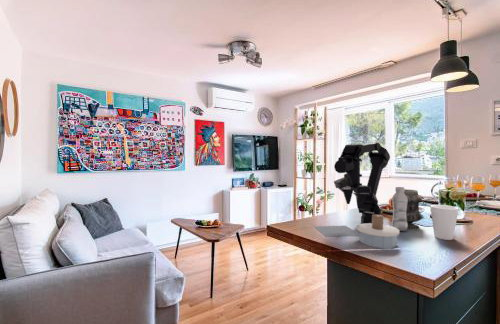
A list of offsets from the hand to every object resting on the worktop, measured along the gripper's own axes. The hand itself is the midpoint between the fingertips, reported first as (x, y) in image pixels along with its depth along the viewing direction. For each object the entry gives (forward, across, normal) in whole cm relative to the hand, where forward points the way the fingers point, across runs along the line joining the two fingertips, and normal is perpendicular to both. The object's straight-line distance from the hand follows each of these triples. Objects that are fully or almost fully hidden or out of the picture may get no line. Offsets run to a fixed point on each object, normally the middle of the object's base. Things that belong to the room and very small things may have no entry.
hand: (353, 206), depth 117 cm
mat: (+12, 0, -8) cm, 14 cm away
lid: (+7, +16, +1) cm, 17 cm away
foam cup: (+12, +13, +33) cm, 38 cm away
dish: (+12, +16, +1) cm, 20 cm away
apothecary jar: (+12, -4, +30) cm, 33 cm away
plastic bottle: (+12, +1, +22) cm, 25 cm away
